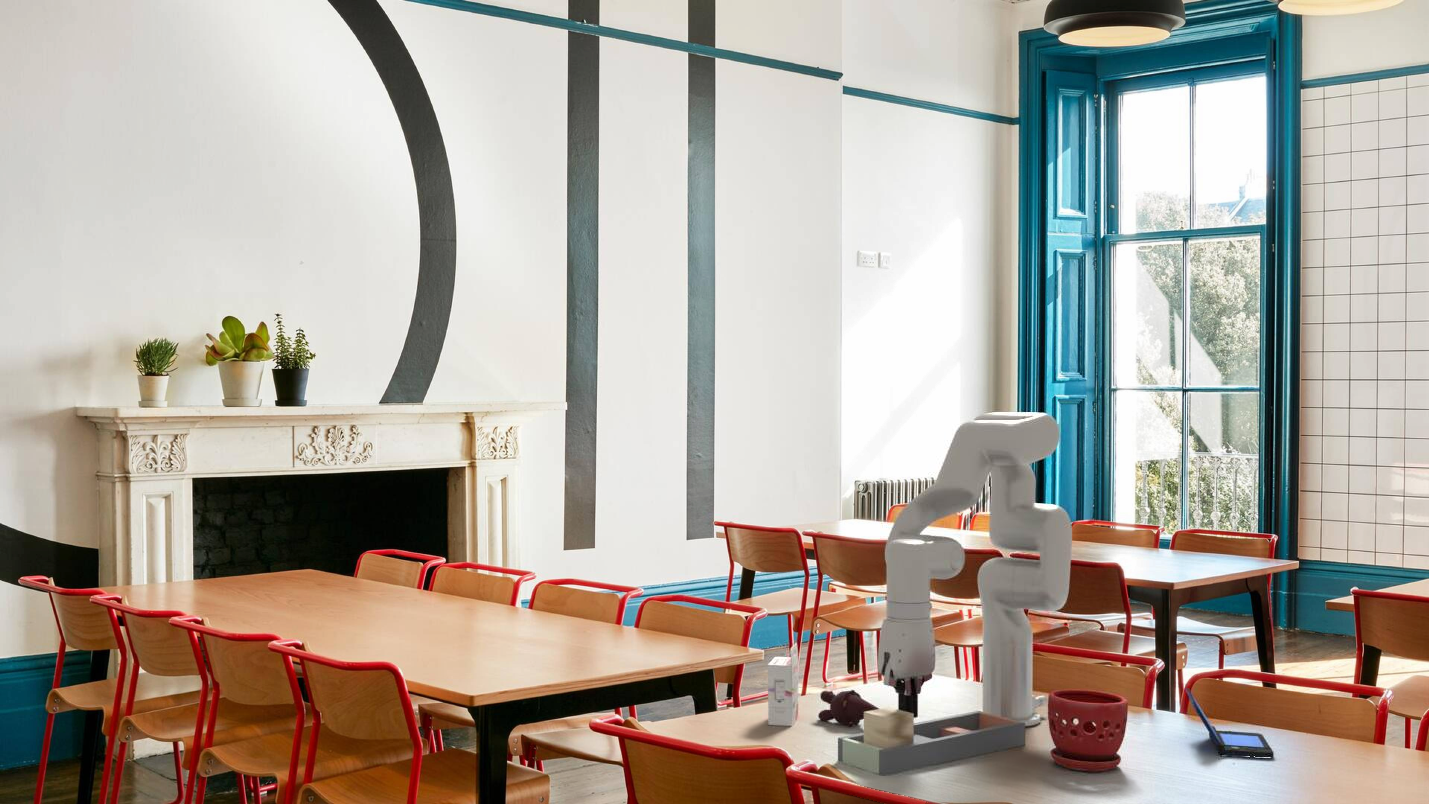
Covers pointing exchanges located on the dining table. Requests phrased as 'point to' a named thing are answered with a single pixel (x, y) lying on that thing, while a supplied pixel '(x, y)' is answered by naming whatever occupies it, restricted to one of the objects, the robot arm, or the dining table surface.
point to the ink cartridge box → (783, 689)
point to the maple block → (888, 728)
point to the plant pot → (1087, 728)
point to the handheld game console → (1234, 739)
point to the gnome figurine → (845, 707)
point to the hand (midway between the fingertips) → (907, 716)
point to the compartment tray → (935, 743)
